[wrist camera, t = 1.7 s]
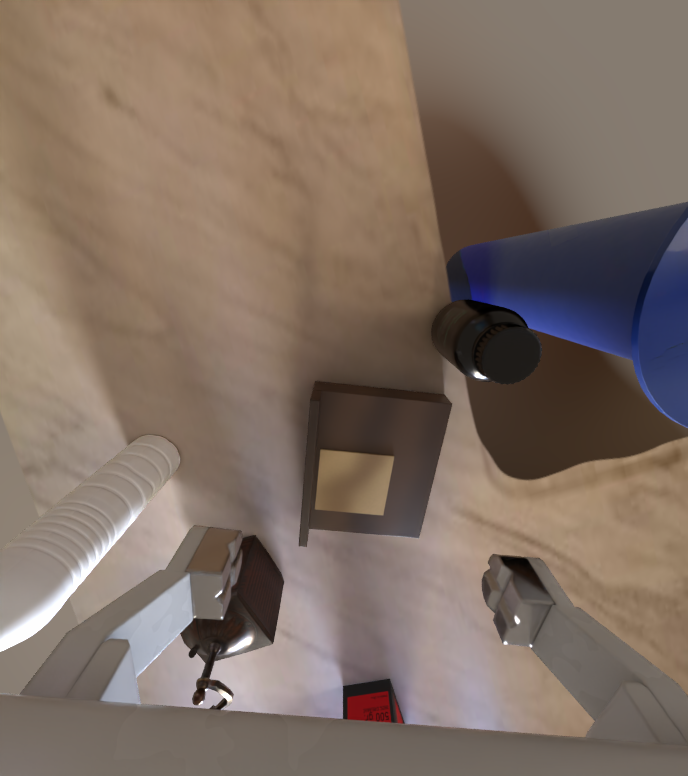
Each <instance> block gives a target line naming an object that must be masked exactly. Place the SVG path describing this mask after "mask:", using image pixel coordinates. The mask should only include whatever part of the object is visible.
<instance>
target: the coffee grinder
mask: <svg viewBox="0 0 688 776" xmlns="http://www.w3.org/2000/svg"><path fill="white" fill-rule="evenodd" d="M240 548H241V549H242V563H241V568H240V572H239V576H238V579H237V582H236V584H235V585H233V586H232V587H231V599H230V602H229V604H228V607H227V610H226V613H225V615H224V618H223V620H217V619H198V618H193V621H192V622H191V623H190V624H189V625H188V626H187V627H186V628H185V629H184V630H183V631H182V632H181V633H180V634H181V636H182V639H183V641H184V643H185V644H186V645H187V647H189V648H190V649H191V650H190V652H189V657H190V658H193V657H194V656H195V655H196V653H197V654H198V655H199V656H200V657H201V658H202V660H203V661H204V662H205V663H206V664H205V667H204V670H203V673H202V676H201V678H199V679H198V680H197V682H196V687H197V690H196V692H195V693H194V695H193V698H192V700H193V704H194V705H200V704H201V703H202V702H203V701H204V700H205V691H206V690H207V689H208V688H209V689H212V690H214V691H217V692H218V693H220V694H221V695H222V696H223V697H225V698H224V699H222V700H221V702H220V703H219V704H218V705H217V706H214V705H213V706H212V707H211V708H210V709H216V710H224V709H225V708H226V707H228V706H229V705H230V704H231V703H232V699H233V695H234V694H233V693H232V691H231V690H230V689H229V688H228V687H227V686H225V685H224V684H223V683H221V682H220V681H218V680H210V679H209V678H210V675H211V671H212V668H213V665H214V662H215V661H217V660H221V659H224V658H228V657H232V656H235V655H239V654H242V653H246V652H249V651H253V650H256V649H259V648H262V647H265V646H268V645H271V644H273V642H274V637H275V631H276V626H277V620H278V614H279V609H280V603H281V597H282V590H283V585H284V580H283V577H282V574H281V572H280V571H279V569H278V567H277V566H276V564H275V563H274V561H273V560H272V558H271V556H270V555H269V553H268V552H267V551H266V549H265V548H264V546H263V545H262V544H261V542H260V541H259V540H258V538H257V537H256V535H255V536H250V537H246V538H242V542H241V545H240Z"/></svg>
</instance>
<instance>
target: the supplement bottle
mask: <svg viewBox="0 0 688 776" xmlns="http://www.w3.org/2000/svg"><path fill="white" fill-rule="evenodd" d="M431 336H432V341H433V344H434V346H435V348H436V349H437V351H438V352H439V353H440V354H441V355H442V356H443V357H445V358H446V359H447V360H448V361H449V362H450V363H451V364H453V365H454V366H455V367H456V368H457V369H458V370H459V371H461V372H462V373H463V374H464V375H466V376H467V377H469V378H471V379H474V380H477V381H483V382H490V381H494V382H495V383H500V384H510V383H511V384H514V383H515V382H519V381H521V380H524V379H525V378H526V377H527V376H529V375H530V374H531V373H532V372H533V371H534V370H535V368H536V367H537V366H538V363H539V362H540V357H541V351H542V348H541V343H540V340H539V338H538V337H537V335H536V334H535V333H533V331H532V330H530V329H529V328H528V326H527V324H526V322H525V321H524V319H523V318H522V317H521V316H520V315H519V314H517V313H516V312H514V311H512V310H510V309H507V308H504V307H499V306H495V305H491V304H487V303H482V302H478V301H473V300H458V301H455V302H452V303H450V304H449V305H447V306H446V307H444V308H443V309H442V310H441V311H440V312H439V313H438V315H437V316H436V318H435V320H434V322H433V325H432V331H431Z"/></svg>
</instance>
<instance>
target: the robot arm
mask: <svg viewBox="0 0 688 776" xmlns="http://www.w3.org/2000/svg"><path fill="white" fill-rule="evenodd" d="M241 542H242V531H239V530H231V529H222V528H214V527H203V526H195V525H194V526H193V527H192V528H191V529H190V530H189V532H188V533H187V535H186V537H185V538H184V540H183V542H182V543H181V545H180V546H179V548H178V550H177V551H176V553H175V555H174V556H173V558H172V560H171V561H170V563H169V565H168V566H167V568H166V570H159V571H158V572H156V573H155V574H153V575H152V576H150V577H149V578H147V579H146V580H144V581H143V582H141V583H140V584H138V585H137V586H135V587H134V588H132V589H131V590H130V591H128V592H127V593H125V594H124V595H122V596H121V597H119V598H118V599H116V600H115V601H113V602H112V603H110V604H109V605H107V606H106V607H104V608H103V609H101V610H100V611H98V612H97V613H95V614H94V615H92V616H91V617H89V618H88V619H87V620H85V621H84V622H82V623H81V624H79V625H78V626H76V627H75V628H73V629H72V630H70V631H69V632H68V633H66V635H65V636H64V637H63V639H62V640H61V641H60V642H59V644H58V645H57V646H56V648H55V649H54V650H53V651H52V653H51V654H50V655H49V657H48V658H47V659H46V661H45V662H44V663H43V664H42V666H41V667H40V668H39V670H38V671H37V672H36V673H35V675H34V676H33V678H32V679H31V680H30V681H29V682H28V684H27V685H26V686H25V688H24V689H23V690H22V692H21V693H20V694H19V695H18V694H5V693H0V776H688V696H687V694H686V693H685V692H684V691H683V689H682V688H681V687H680V686H679V684H678V683H676V682H675V681H674V680H673V679H671V678H670V677H669V676H667V675H666V674H665V673H663V672H662V671H661V670H660V669H658V668H657V667H656V666H654V665H653V664H652V663H651V662H649V661H648V660H647V659H645V658H644V657H643V656H641V655H640V654H639V653H638V652H636V651H635V650H634V649H632V648H631V647H630V646H629V645H627V644H626V643H625V642H623V641H622V640H621V639H619V638H618V637H617V636H616V635H614V634H613V633H612V632H610V631H609V630H608V629H607V628H605V627H604V626H603V625H601V624H600V623H599V622H598V621H596V620H595V619H594V618H592V617H591V616H590V615H588V614H587V613H586V612H585V611H583V610H582V609H581V608H579V607H574V605H573V604H572V602H571V601H570V600H569V598H568V597H567V595H566V594H565V592H564V591H563V589H562V588H561V586H560V585H559V583H558V582H557V580H556V579H555V577H554V576H553V575H552V573H551V572H550V570H549V569H548V567H547V566H546V564H545V563H544V562H543V561H542V560H541V559H540V558H533V557H521V556H510V555H497V554H493V555H492V556H491V557H490V558H489V561H488V564H489V566H490V569H489V570H487V571H486V572H484V575H483V578H482V592H483V597H484V599H485V602H486V604H487V606H488V607H489V608H490V609H491V610H492V611H493V612H494V613H495V615H494V619H493V621H494V624H495V626H496V628H497V631H498V633H499V635H500V638H501V640H502V643H503V644H510V645H519V646H527V647H531V649H532V650H533V652H534V653H535V654H536V655H537V656H538V657H539V658H540V659H541V661H542V662H543V663H544V664H545V665H546V666H547V667H548V668H549V670H550V671H551V672H552V673H553V674H554V675H555V676H556V677H557V679H558V680H559V681H560V682H561V683H562V684H563V685H564V687H565V688H566V689H567V690H568V691H569V692H570V693H571V694H572V696H573V697H574V698H575V699H576V700H577V701H578V702H579V703H580V705H581V706H582V707H583V708H584V709H585V710H586V711H587V713H588V714H589V715H590V716H591V717H592V718H593V719H594V720H595V722H594V723H593V725H592V726H591V728H590V729H589V730H588V732H587V734H586V737H572V736H558V735H545V734H532V733H519V732H506V731H493V730H480V729H467V728H454V727H441V726H428V725H415V724H401V723H388V722H375V721H361V720H348V719H335V718H321V717H308V716H295V715H282V714H269V713H255V712H242V711H229V710H216V709H202V708H189V707H176V706H163V705H150V704H141V702H140V696H139V691H138V685H137V680H136V677H137V676H138V675H139V674H140V673H141V672H142V671H143V670H144V669H145V668H146V667H147V666H148V665H149V664H150V663H151V662H152V661H153V660H154V659H155V658H156V657H157V656H158V655H159V654H160V653H161V652H162V651H163V650H164V649H165V648H166V647H167V646H168V645H169V644H170V643H171V642H172V641H173V640H174V639H175V638H176V637H177V636H178V635H179V634H180V633H181V632H182V631H183V630H184V629H185V628H186V627H187V626H188V625H189V624H190V623H191V622H192V621H193V618H198V619H217V620H223V618H224V615H225V613H226V610H227V607H228V604H229V602H230V599H231V587H232V586H233V585H235V584H236V582H237V579H238V576H239V572H240V568H241V563H242V549H241V548H240V545H241Z"/></svg>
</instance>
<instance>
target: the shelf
mask: <svg viewBox="0 0 688 776" xmlns="http://www.w3.org/2000/svg"><path fill="white" fill-rule="evenodd" d="M451 407H452V403H451V402H450V401H449V400H448V398H447V397H446V396H445V395H443V394H434V393H424V392H414V391H405V390H395V389H385V388H376V387H366V386H356V385H347V384H337V383H327V382H318V381H315V384H314V388H313V392H312V396H311V399H310V410H309V422H308V435H307V448H306V461H305V473H304V486H303V499H302V511H301V524H300V537H299V546H302V547H307V541H308V534H309V529H318V530H330V531H341V532H353V533H364V534H376V535H388V536H399V537H411V538H419V536H420V532H421V528H422V524H423V520H424V516H425V512H426V508H427V504H428V500H429V496H430V492H431V488H432V484H433V480H434V476H435V471H436V467H437V463H438V459H439V455H440V451H441V447H442V443H443V439H444V435H445V431H446V427H447V423H448V419H449V415H450V411H451Z"/></svg>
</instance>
